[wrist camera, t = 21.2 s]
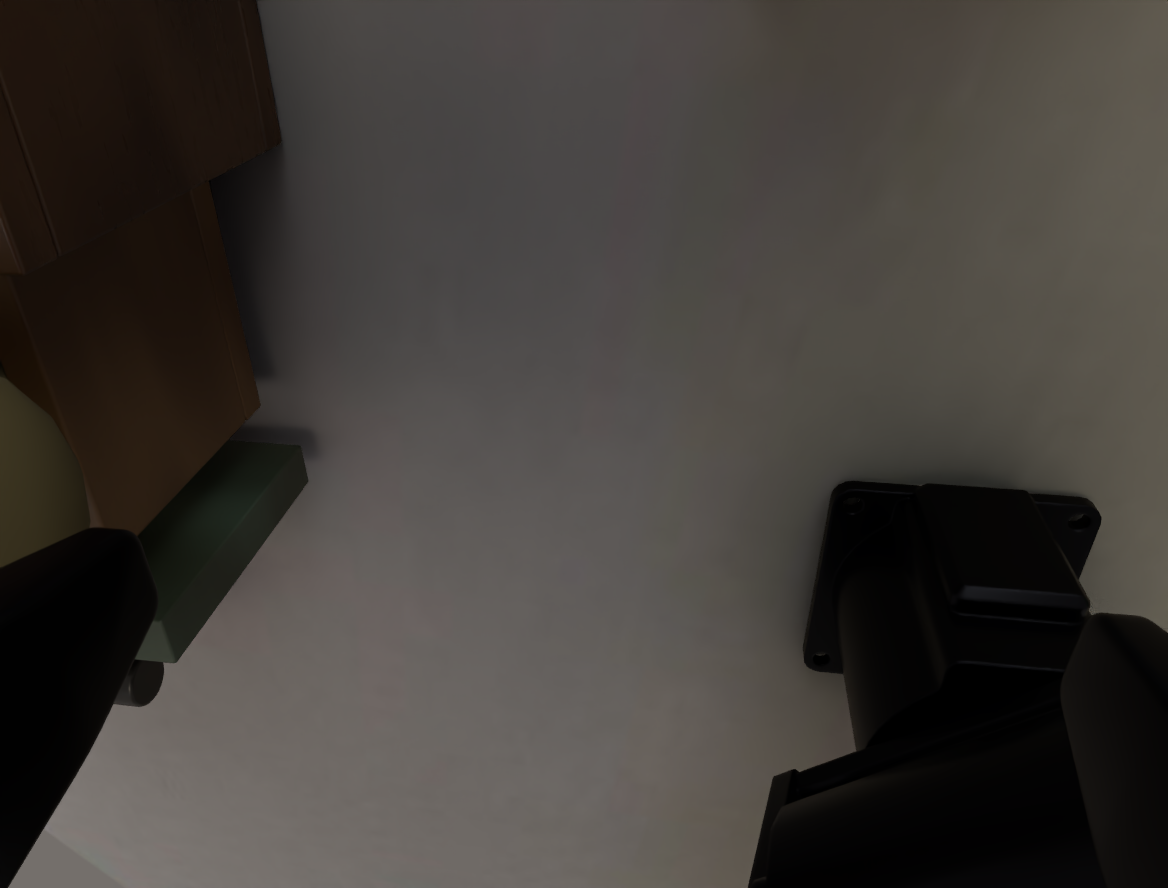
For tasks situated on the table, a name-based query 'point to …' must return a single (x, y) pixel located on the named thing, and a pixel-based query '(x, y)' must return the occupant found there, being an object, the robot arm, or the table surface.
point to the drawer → (155, 408)
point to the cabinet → (120, 113)
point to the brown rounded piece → (35, 478)
